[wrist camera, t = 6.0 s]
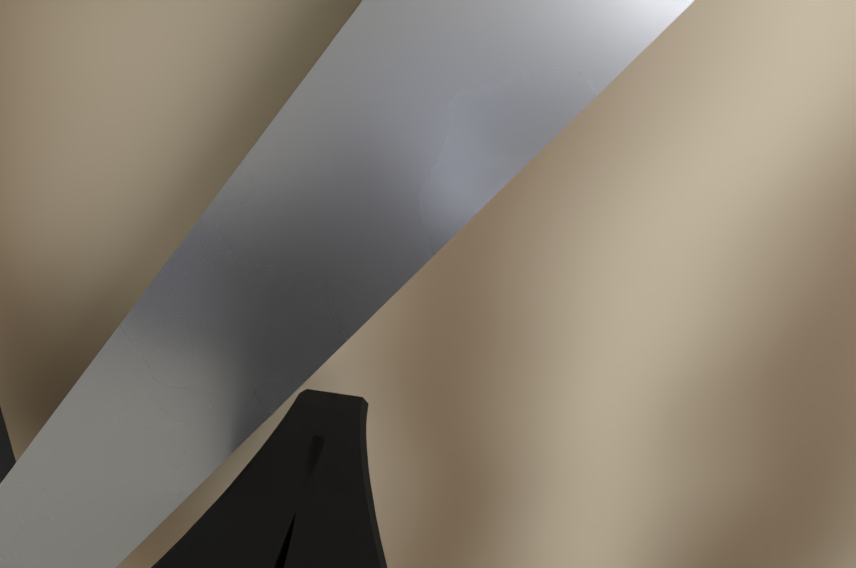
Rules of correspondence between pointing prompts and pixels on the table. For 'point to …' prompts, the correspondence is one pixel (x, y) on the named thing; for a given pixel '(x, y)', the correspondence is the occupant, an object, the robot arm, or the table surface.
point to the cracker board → (492, 282)
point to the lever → (308, 250)
